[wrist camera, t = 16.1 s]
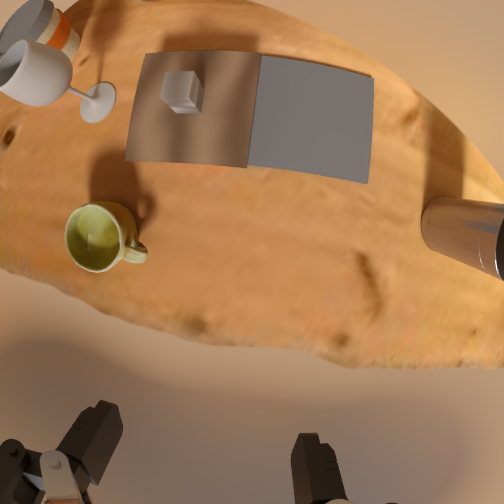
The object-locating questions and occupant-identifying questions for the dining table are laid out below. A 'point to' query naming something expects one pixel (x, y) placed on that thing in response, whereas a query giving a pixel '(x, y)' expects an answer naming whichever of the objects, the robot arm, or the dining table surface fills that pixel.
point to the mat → (312, 119)
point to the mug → (103, 236)
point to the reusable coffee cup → (40, 28)
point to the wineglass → (49, 80)
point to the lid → (194, 108)
